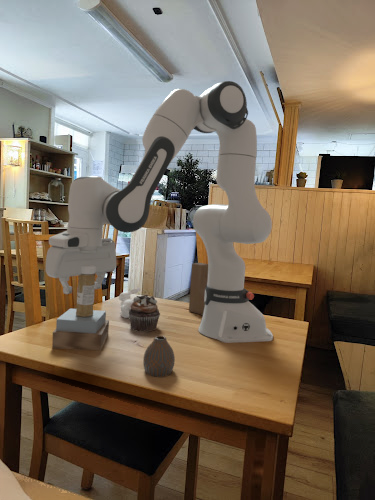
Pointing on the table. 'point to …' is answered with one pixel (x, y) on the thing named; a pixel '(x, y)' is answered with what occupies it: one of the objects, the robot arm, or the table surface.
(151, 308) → the cupcake
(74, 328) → the tower top block
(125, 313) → the rabbit
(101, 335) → the tower base block
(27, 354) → the table surface
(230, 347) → the table surface
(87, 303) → the sprinkles bottle
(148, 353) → the vase
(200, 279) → the wooden block
